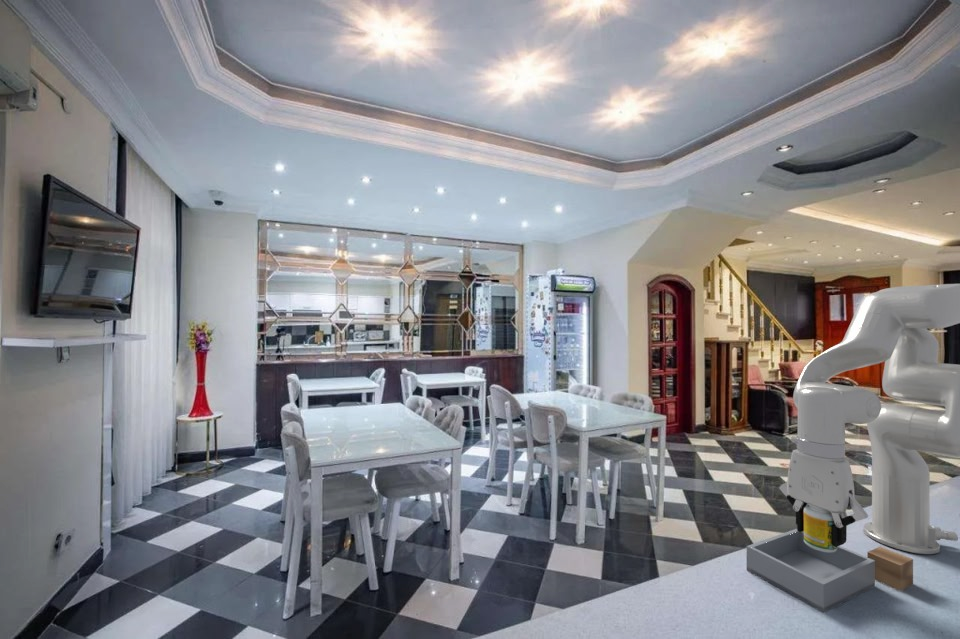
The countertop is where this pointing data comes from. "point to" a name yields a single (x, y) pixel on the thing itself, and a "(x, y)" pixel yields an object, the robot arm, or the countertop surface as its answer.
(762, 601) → the countertop surface
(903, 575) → the walnut cube
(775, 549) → the tote
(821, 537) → the supplement bottle
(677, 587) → the countertop surface
